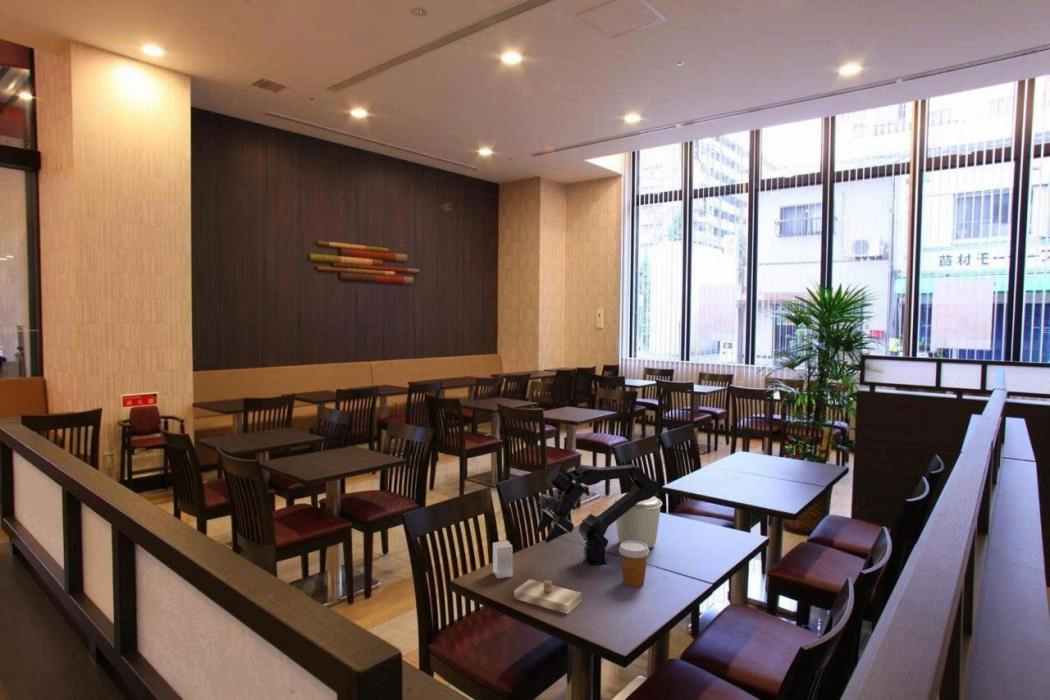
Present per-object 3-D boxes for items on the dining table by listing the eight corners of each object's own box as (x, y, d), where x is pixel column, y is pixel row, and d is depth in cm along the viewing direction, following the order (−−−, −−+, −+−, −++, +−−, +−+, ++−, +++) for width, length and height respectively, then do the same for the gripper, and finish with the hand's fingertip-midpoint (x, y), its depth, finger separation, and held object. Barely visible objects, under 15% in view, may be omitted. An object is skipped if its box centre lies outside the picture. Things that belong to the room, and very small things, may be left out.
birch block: (514, 598, 179) (514, 580, 178) (529, 587, 186) (529, 569, 186) (567, 614, 169) (567, 595, 169) (581, 601, 177) (581, 583, 176)
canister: (671, 544, 220) (671, 488, 219) (644, 559, 207) (644, 499, 206) (630, 532, 233) (630, 479, 232) (602, 545, 220) (602, 489, 219)
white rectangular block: (508, 570, 199) (507, 540, 198) (512, 576, 194) (512, 546, 193) (493, 572, 197) (492, 542, 196) (497, 578, 192) (497, 548, 192)
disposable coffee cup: (612, 579, 191) (612, 542, 191) (637, 574, 195) (638, 538, 194) (629, 591, 183) (629, 553, 182) (655, 586, 186) (655, 548, 186)
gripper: (542, 478, 208) (515, 514, 206) (561, 493, 190) (531, 533, 188) (565, 495, 211) (539, 532, 209) (586, 512, 193) (557, 552, 191)
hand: (541, 536), depth 199 cm, fingers open, 9 cm apart
